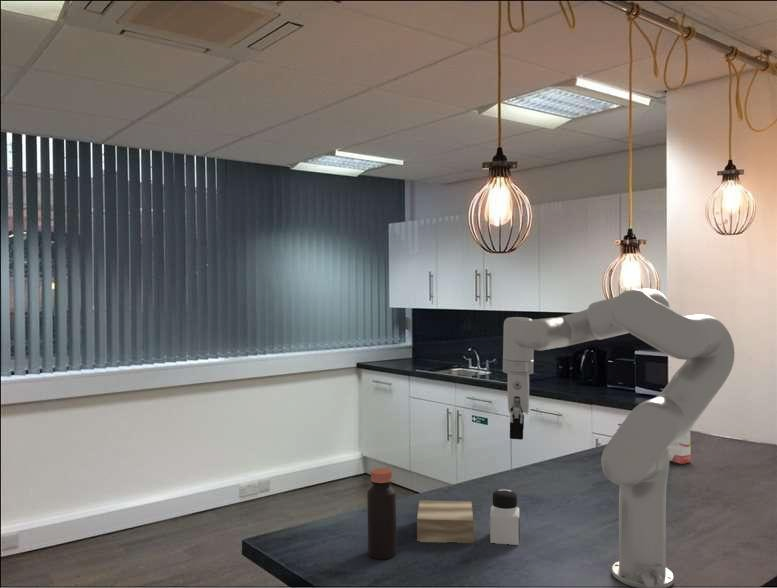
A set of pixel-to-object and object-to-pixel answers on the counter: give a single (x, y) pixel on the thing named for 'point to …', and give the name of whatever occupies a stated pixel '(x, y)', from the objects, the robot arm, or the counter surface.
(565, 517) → the counter surface
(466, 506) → the birch block
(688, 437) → the ink cartridge box
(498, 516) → the medicine bottle
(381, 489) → the vinegar
